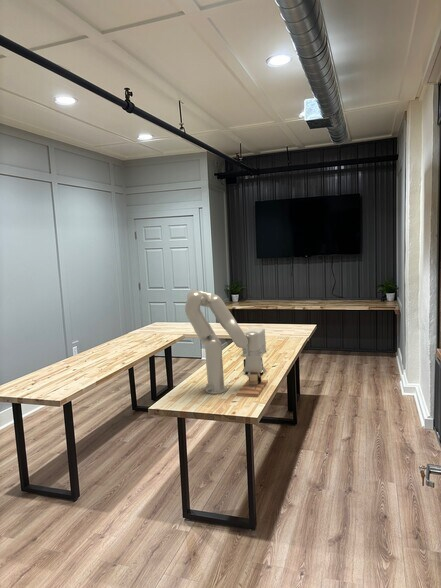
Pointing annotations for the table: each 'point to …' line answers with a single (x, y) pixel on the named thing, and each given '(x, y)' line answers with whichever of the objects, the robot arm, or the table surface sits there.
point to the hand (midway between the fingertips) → (255, 382)
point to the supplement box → (261, 341)
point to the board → (252, 389)
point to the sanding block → (253, 378)
